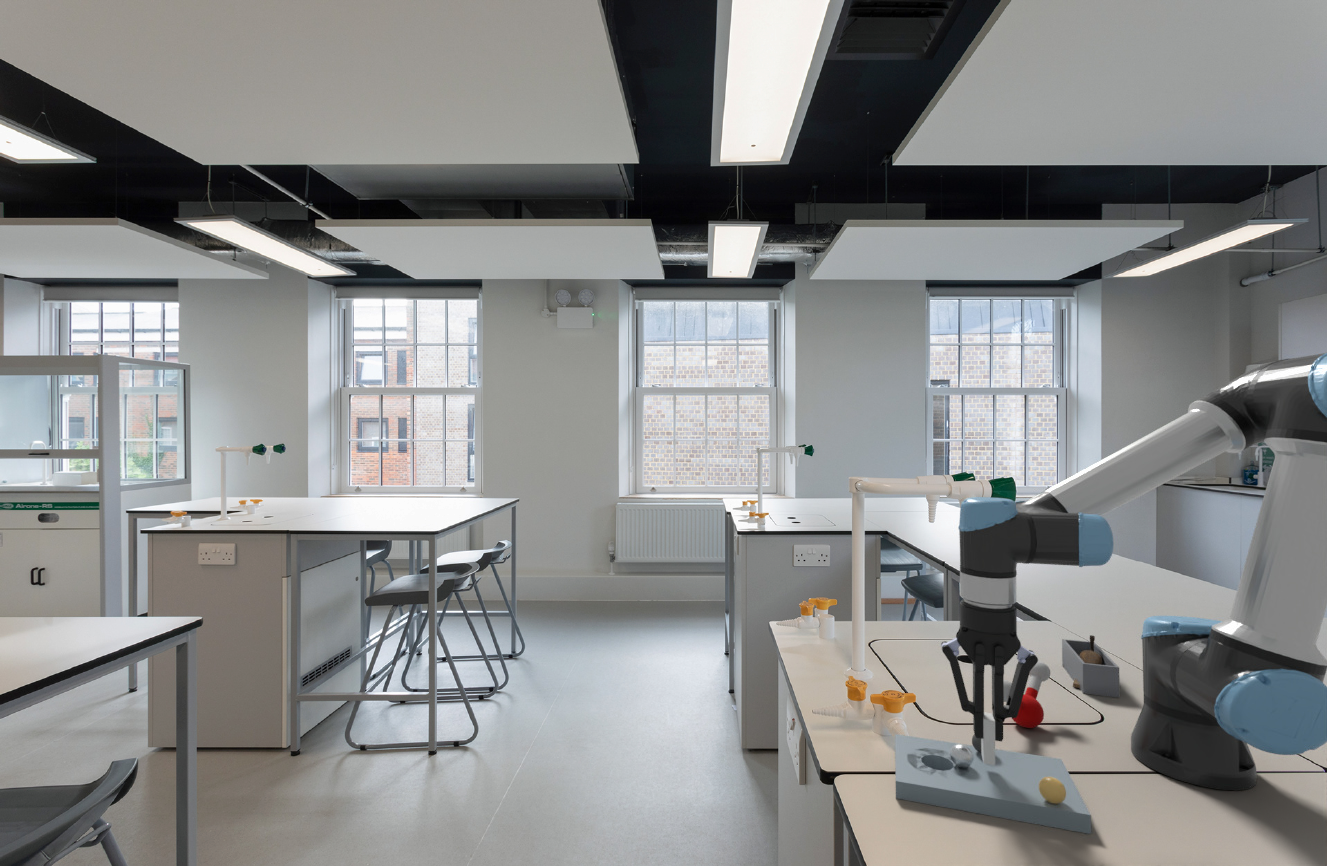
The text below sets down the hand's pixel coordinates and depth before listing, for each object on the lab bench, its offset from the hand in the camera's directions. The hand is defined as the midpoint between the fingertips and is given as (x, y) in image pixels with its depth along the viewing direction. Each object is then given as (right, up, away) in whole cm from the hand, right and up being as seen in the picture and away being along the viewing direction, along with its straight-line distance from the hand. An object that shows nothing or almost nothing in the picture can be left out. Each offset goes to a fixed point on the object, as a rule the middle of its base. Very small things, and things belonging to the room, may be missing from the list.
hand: (988, 760), depth 92 cm
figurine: (+43, -4, +40) cm, 59 cm away
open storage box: (+42, -4, +40) cm, 58 cm away
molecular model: (+17, -4, +19) cm, 26 cm away
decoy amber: (+5, 0, -8) cm, 9 cm away
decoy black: (+2, 0, +5) cm, 6 cm away
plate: (-1, -4, 0) cm, 4 cm away
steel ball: (-3, 0, +1) cm, 4 cm away
